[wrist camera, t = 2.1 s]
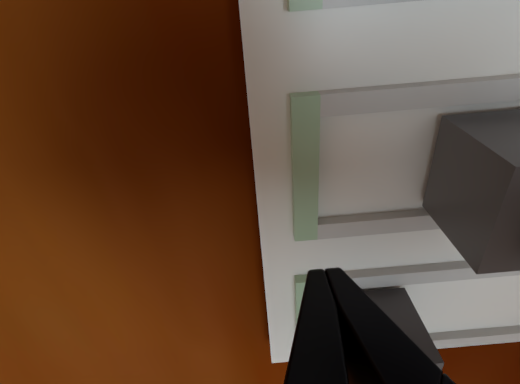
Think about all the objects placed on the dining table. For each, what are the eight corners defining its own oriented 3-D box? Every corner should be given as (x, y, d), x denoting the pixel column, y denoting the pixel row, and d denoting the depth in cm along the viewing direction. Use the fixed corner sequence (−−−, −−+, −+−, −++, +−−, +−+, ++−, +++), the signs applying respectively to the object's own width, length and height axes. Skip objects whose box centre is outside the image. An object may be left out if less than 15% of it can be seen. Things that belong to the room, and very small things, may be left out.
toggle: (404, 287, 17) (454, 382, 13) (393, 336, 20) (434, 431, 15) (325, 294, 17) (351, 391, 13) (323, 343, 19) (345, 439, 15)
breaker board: (1081, -402, 8) (1297, -498, 7) (596, 312, 22) (626, 340, 20) (208, -329, 8) (200, -408, 7) (270, 340, 22) (272, 371, 20)
